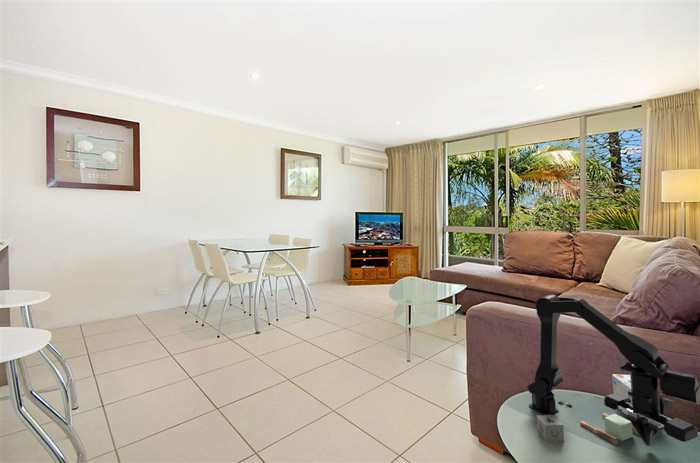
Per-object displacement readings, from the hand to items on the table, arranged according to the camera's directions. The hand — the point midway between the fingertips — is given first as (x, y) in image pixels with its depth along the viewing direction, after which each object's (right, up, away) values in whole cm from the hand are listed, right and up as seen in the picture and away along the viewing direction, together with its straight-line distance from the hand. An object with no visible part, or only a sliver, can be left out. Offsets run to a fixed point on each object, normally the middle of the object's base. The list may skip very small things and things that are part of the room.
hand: (648, 445), depth 88 cm
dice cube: (-22, -3, +8) cm, 24 cm away
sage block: (-2, -2, +7) cm, 8 cm away
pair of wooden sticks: (-3, -2, +9) cm, 10 cm away
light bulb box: (+11, -1, +16) cm, 19 cm away
